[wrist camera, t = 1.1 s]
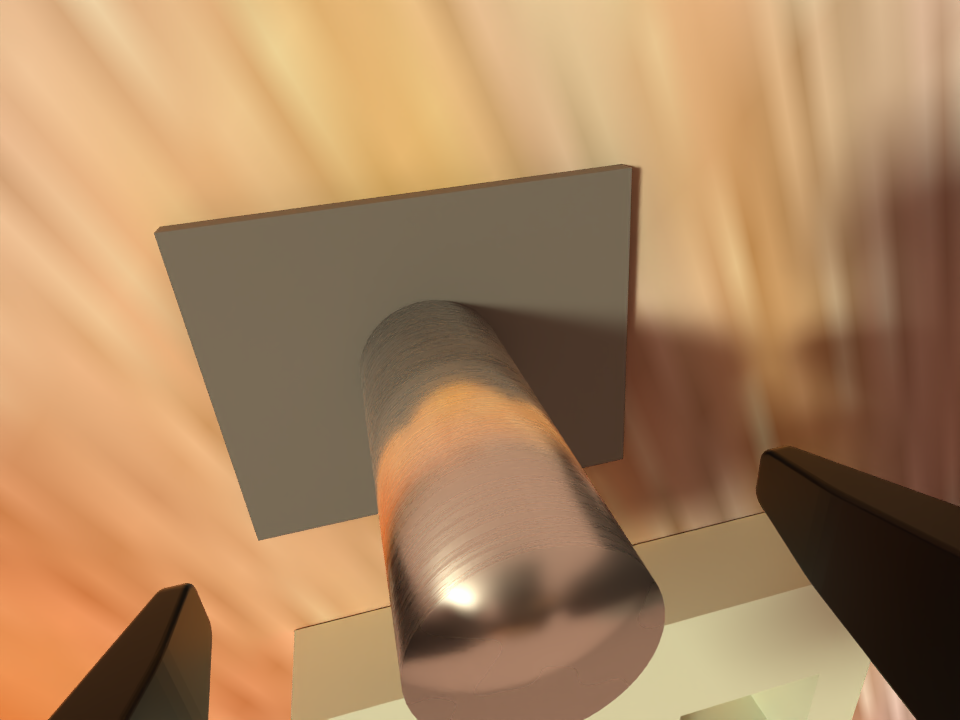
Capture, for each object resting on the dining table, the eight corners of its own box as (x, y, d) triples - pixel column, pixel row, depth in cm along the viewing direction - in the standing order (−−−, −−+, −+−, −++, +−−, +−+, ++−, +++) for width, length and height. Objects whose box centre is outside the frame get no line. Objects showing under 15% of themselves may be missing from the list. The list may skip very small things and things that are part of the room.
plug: (496, 288, 14) (673, 518, 7) (505, 413, 16) (657, 702, 9) (347, 313, 13) (378, 591, 6) (372, 440, 15) (420, 774, 8)
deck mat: (622, 164, 14) (632, 167, 13) (615, 449, 18) (623, 458, 17) (159, 227, 12) (154, 233, 12) (260, 527, 16) (258, 540, 15)
